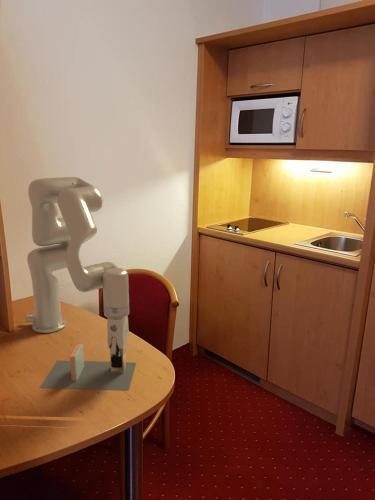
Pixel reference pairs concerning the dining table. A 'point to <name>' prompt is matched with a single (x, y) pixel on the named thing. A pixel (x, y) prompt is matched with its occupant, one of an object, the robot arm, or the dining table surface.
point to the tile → (77, 362)
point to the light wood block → (123, 353)
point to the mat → (89, 376)
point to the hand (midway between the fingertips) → (118, 362)
